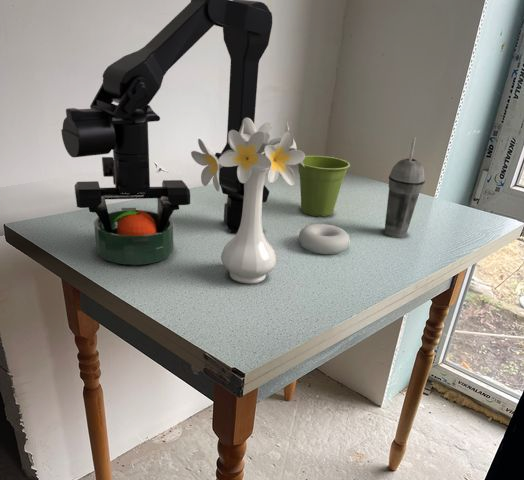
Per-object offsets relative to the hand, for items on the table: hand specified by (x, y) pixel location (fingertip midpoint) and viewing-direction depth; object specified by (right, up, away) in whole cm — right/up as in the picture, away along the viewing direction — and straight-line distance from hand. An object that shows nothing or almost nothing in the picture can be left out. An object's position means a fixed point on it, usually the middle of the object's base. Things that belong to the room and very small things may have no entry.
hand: (135, 241), depth 100 cm
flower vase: (+20, -7, -5) cm, 22 cm away
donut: (+35, +1, +10) cm, 36 cm away
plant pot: (+35, +12, +28) cm, 47 cm away
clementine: (0, -1, +1) cm, 2 cm away
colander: (0, -2, +1) cm, 2 cm away
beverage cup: (+51, +5, +20) cm, 55 cm away
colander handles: (0, +2, -1) cm, 3 cm away
